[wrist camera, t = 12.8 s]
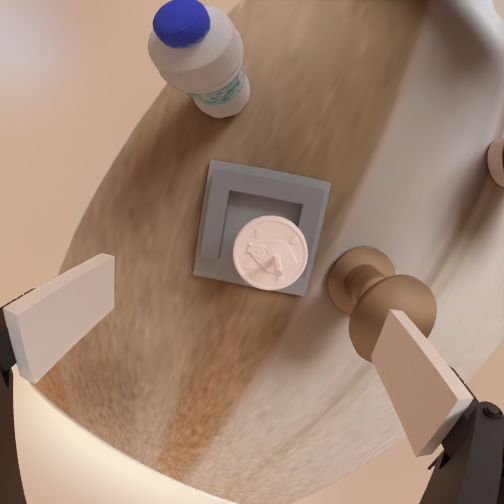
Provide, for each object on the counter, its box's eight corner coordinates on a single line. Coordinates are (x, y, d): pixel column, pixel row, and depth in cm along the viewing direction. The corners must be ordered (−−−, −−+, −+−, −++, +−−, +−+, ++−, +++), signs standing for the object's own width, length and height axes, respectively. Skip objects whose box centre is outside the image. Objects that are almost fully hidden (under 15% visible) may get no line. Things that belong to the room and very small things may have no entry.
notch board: (212, 160, 33) (206, 158, 30) (329, 182, 33) (335, 183, 30) (195, 272, 36) (188, 280, 33) (304, 293, 36) (306, 303, 33)
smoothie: (287, 267, 34) (297, 323, 21) (235, 250, 34) (213, 297, 21) (305, 216, 33) (330, 242, 19) (252, 198, 33) (239, 212, 19)
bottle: (258, 76, 30) (244, -26, 11) (246, 126, 32) (217, 62, 12) (204, 69, 30) (141, -22, 11) (191, 118, 32) (106, 61, 12)
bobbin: (337, 239, 34) (369, 270, 23) (400, 253, 34) (448, 286, 23) (319, 307, 37) (338, 360, 25) (380, 316, 36) (415, 365, 25)
